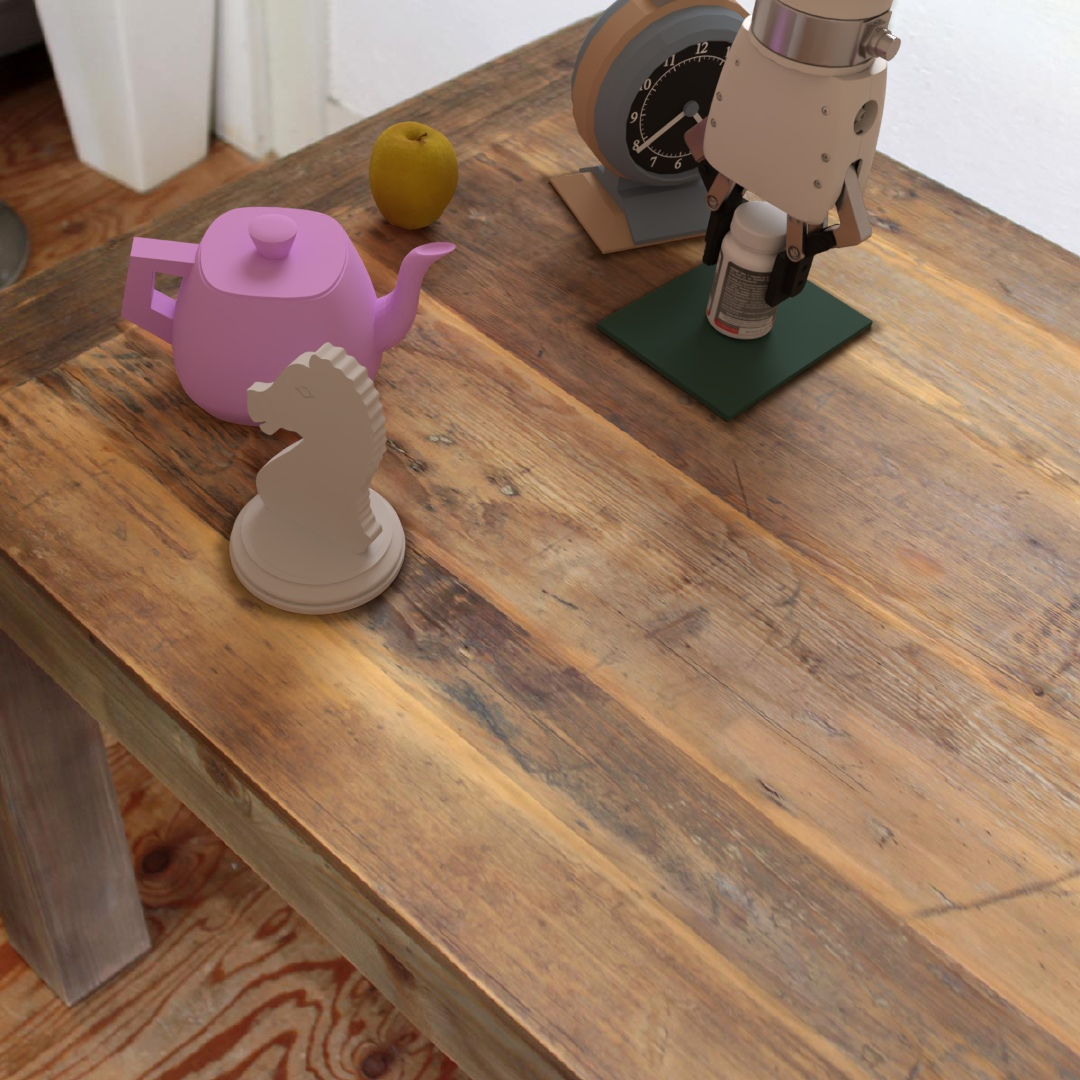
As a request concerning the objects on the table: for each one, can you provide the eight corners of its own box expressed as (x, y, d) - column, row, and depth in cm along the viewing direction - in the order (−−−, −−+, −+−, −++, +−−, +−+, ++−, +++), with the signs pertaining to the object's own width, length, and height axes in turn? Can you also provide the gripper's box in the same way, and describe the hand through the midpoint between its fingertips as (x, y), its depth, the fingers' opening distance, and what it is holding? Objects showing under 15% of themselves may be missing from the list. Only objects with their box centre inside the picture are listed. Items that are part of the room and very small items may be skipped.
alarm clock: (590, 256, 97) (626, 25, 84) (537, 182, 103) (562, -45, 90) (758, 225, 102) (817, 2, 89) (698, 156, 108) (745, -63, 95)
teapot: (446, 451, 82) (455, 308, 74) (113, 436, 80) (84, 287, 72) (448, 314, 91) (457, 172, 83) (148, 297, 89) (127, 151, 81)
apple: (438, 255, 95) (444, 157, 90) (354, 233, 96) (354, 134, 90) (466, 207, 100) (473, 111, 94) (386, 187, 100) (387, 90, 95)
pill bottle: (785, 333, 92) (815, 232, 86) (727, 347, 91) (754, 245, 84) (749, 292, 95) (776, 191, 89) (692, 305, 93) (716, 203, 87)
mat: (743, 245, 100) (744, 239, 100) (871, 326, 95) (873, 320, 95) (595, 328, 92) (596, 322, 91) (727, 422, 87) (729, 416, 86)
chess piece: (298, 463, 80) (288, 258, 69) (437, 531, 78) (450, 329, 67) (193, 565, 74) (164, 358, 63) (340, 643, 72) (336, 441, 61)
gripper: (977, 64, 75) (883, 319, 88) (746, -53, 82) (692, 199, 96) (900, 104, 71) (814, 365, 85) (666, -23, 78) (621, 236, 92)
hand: (750, 275), depth 90 cm, fingers closed on pill bottle, 4 cm apart
